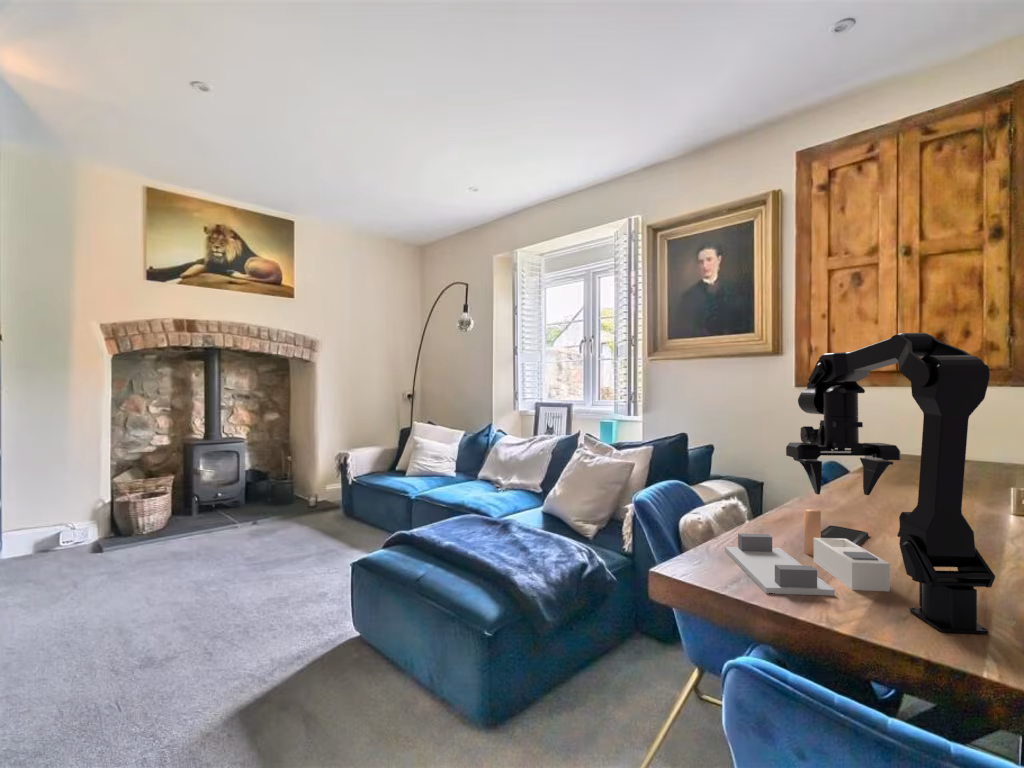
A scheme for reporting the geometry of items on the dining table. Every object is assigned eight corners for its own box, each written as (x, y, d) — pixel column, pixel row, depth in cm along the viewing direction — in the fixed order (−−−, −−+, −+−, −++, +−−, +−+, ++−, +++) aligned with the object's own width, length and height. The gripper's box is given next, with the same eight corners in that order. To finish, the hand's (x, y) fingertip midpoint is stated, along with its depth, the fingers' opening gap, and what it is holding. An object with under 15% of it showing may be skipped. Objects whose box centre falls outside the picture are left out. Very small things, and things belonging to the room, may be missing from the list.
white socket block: (889, 592, 82) (889, 562, 82) (851, 591, 83) (852, 560, 83) (845, 563, 95) (845, 537, 95) (813, 562, 96) (813, 536, 96)
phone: (869, 532, 111) (851, 547, 101) (869, 537, 111) (851, 553, 101) (829, 524, 117) (809, 538, 107) (829, 529, 117) (809, 543, 107)
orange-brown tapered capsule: (823, 556, 98) (823, 512, 98) (808, 556, 98) (808, 512, 98) (815, 551, 101) (816, 508, 101) (800, 550, 101) (801, 508, 101)
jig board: (834, 595, 81) (834, 571, 80) (766, 593, 82) (766, 569, 82) (779, 552, 100) (779, 533, 100) (724, 551, 101) (724, 532, 101)
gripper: (865, 414, 103) (866, 487, 103) (773, 414, 105) (774, 485, 105) (901, 417, 92) (903, 498, 92) (799, 417, 94) (800, 497, 94)
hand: (841, 494), depth 96 cm, fingers open, 9 cm apart
